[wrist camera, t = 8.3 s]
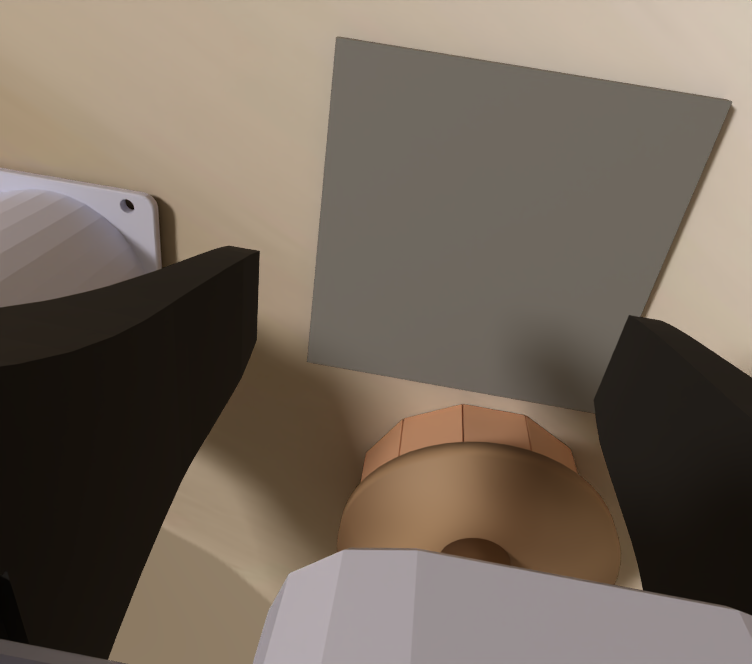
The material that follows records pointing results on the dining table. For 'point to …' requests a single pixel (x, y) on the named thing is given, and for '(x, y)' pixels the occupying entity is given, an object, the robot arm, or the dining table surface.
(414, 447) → the bowl
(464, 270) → the mat
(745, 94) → the dining table surface
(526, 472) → the lid
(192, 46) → the dining table surface
